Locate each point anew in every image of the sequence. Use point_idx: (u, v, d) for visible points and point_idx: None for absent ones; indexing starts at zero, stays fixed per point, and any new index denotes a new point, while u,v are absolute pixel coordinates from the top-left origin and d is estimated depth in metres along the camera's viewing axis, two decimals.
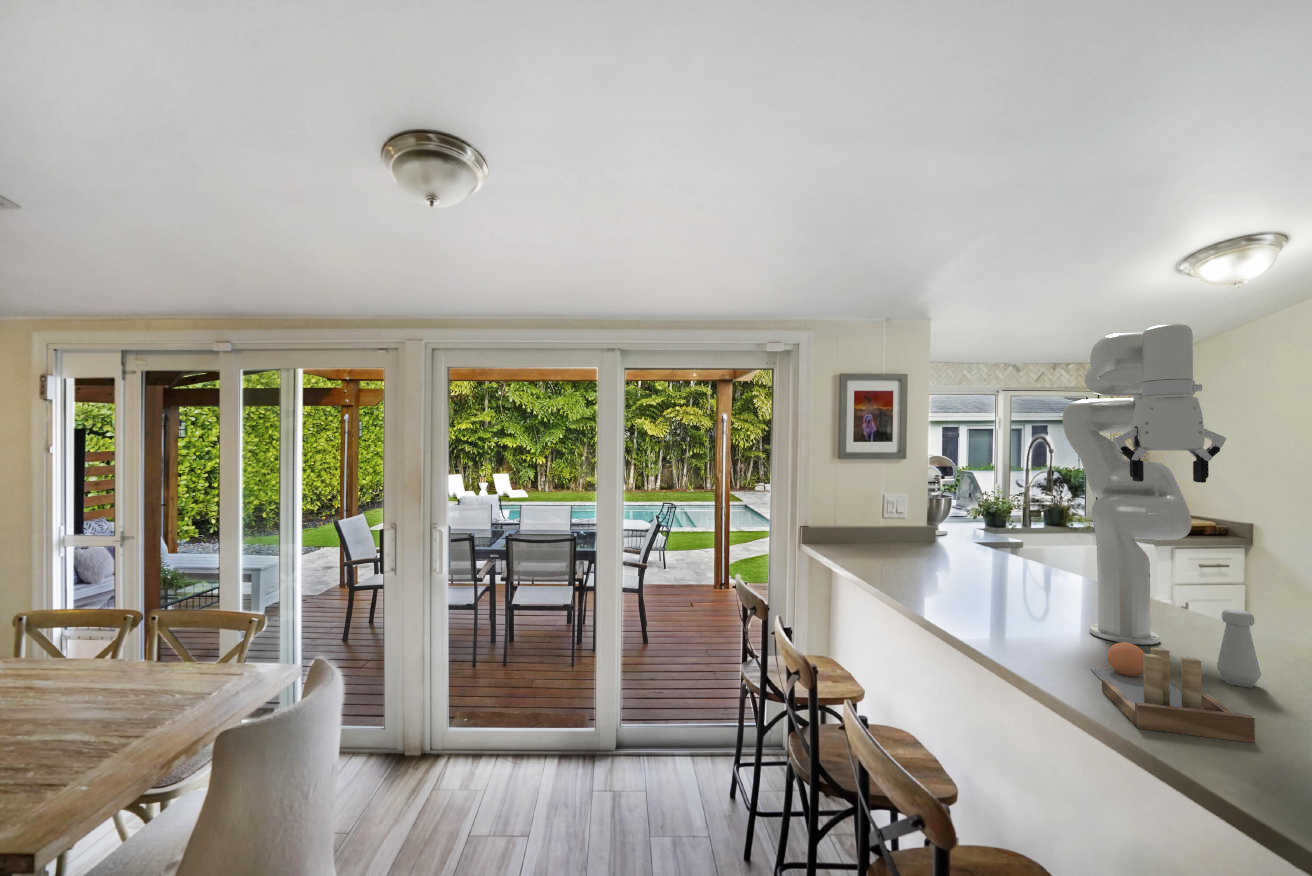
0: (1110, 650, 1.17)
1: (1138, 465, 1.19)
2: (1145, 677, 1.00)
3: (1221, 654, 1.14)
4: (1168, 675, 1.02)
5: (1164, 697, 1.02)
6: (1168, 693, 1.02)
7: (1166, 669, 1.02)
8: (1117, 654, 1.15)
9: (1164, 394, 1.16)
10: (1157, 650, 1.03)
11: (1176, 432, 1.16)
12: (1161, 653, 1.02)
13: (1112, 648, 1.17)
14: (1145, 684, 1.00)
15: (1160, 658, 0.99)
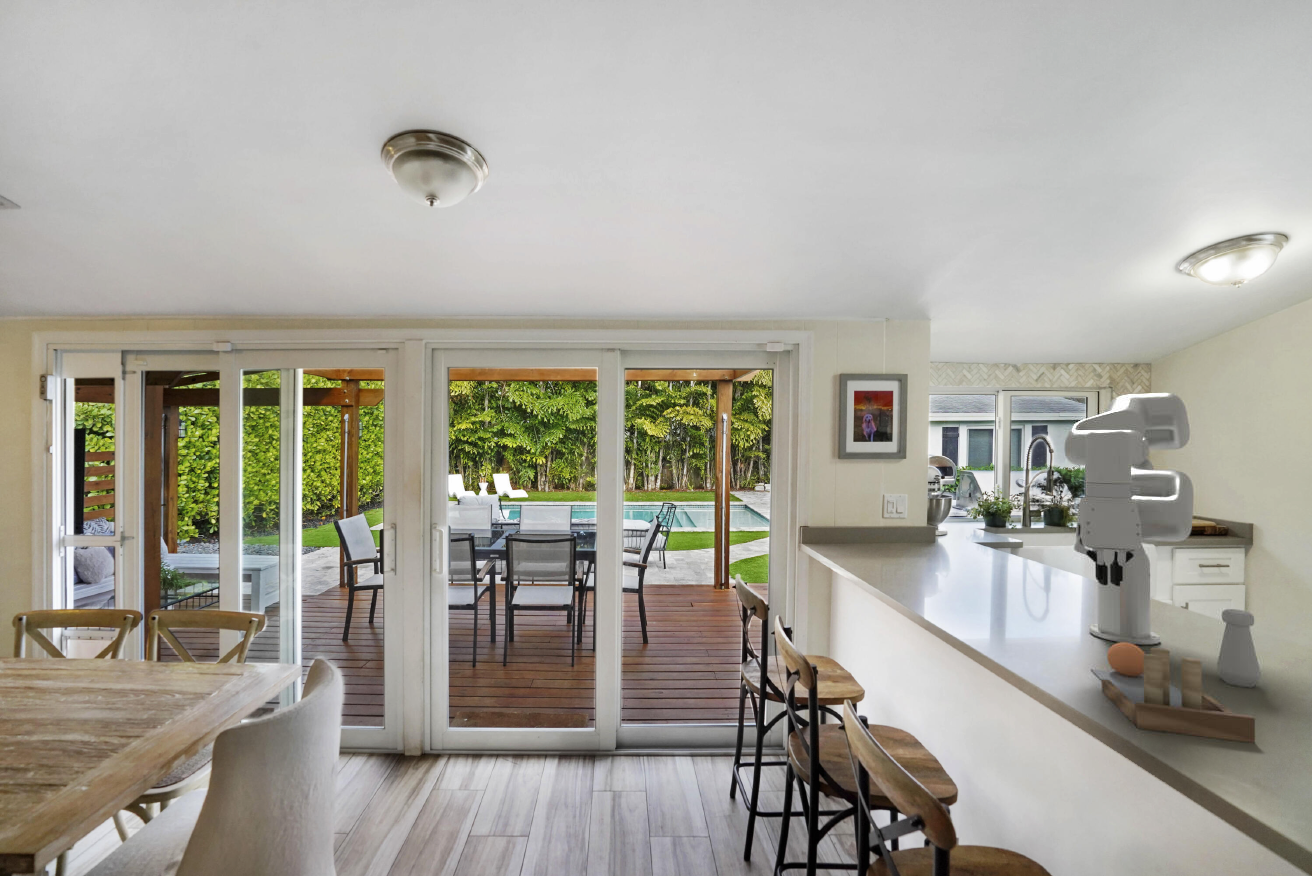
0: (1110, 650, 1.17)
1: (1103, 569, 1.24)
2: (1145, 677, 1.00)
3: (1221, 654, 1.14)
4: (1168, 675, 1.02)
5: (1164, 697, 1.02)
6: (1168, 693, 1.02)
7: (1166, 669, 1.02)
8: (1117, 654, 1.15)
9: (1104, 497, 1.23)
10: (1157, 650, 1.03)
11: (1115, 533, 1.23)
12: (1161, 653, 1.02)
13: (1112, 648, 1.17)
14: (1145, 684, 1.00)
15: (1160, 658, 0.99)
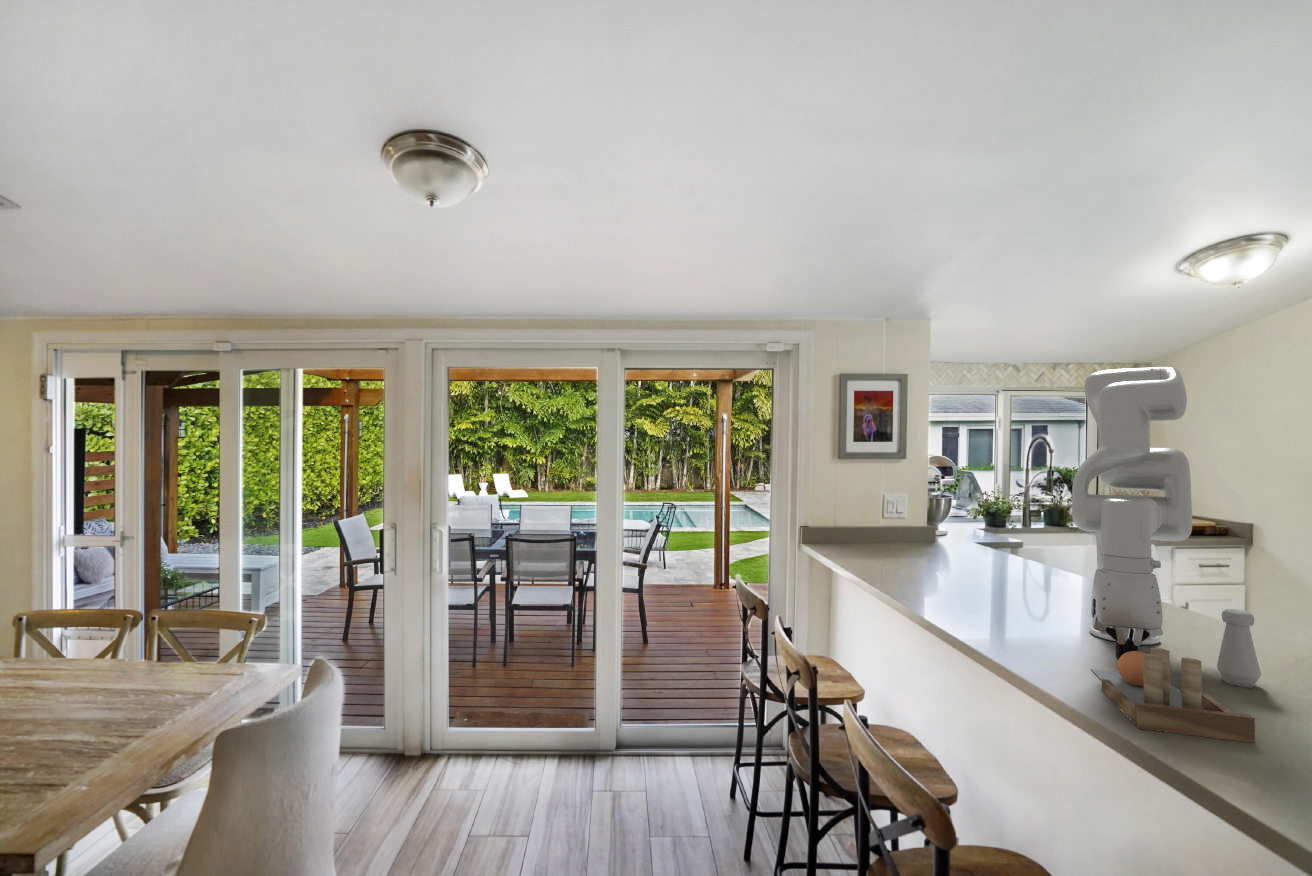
0: (1123, 669, 1.11)
1: (1124, 649, 1.15)
2: (1145, 677, 1.00)
3: (1221, 654, 1.14)
4: (1168, 675, 1.02)
5: (1164, 697, 1.02)
6: (1168, 693, 1.02)
7: (1166, 669, 1.02)
8: (1127, 680, 1.11)
9: (1121, 572, 1.14)
10: (1157, 650, 1.03)
11: (1133, 611, 1.14)
12: (1161, 653, 1.02)
13: (1126, 671, 1.10)
14: (1145, 684, 1.00)
15: (1160, 658, 0.99)
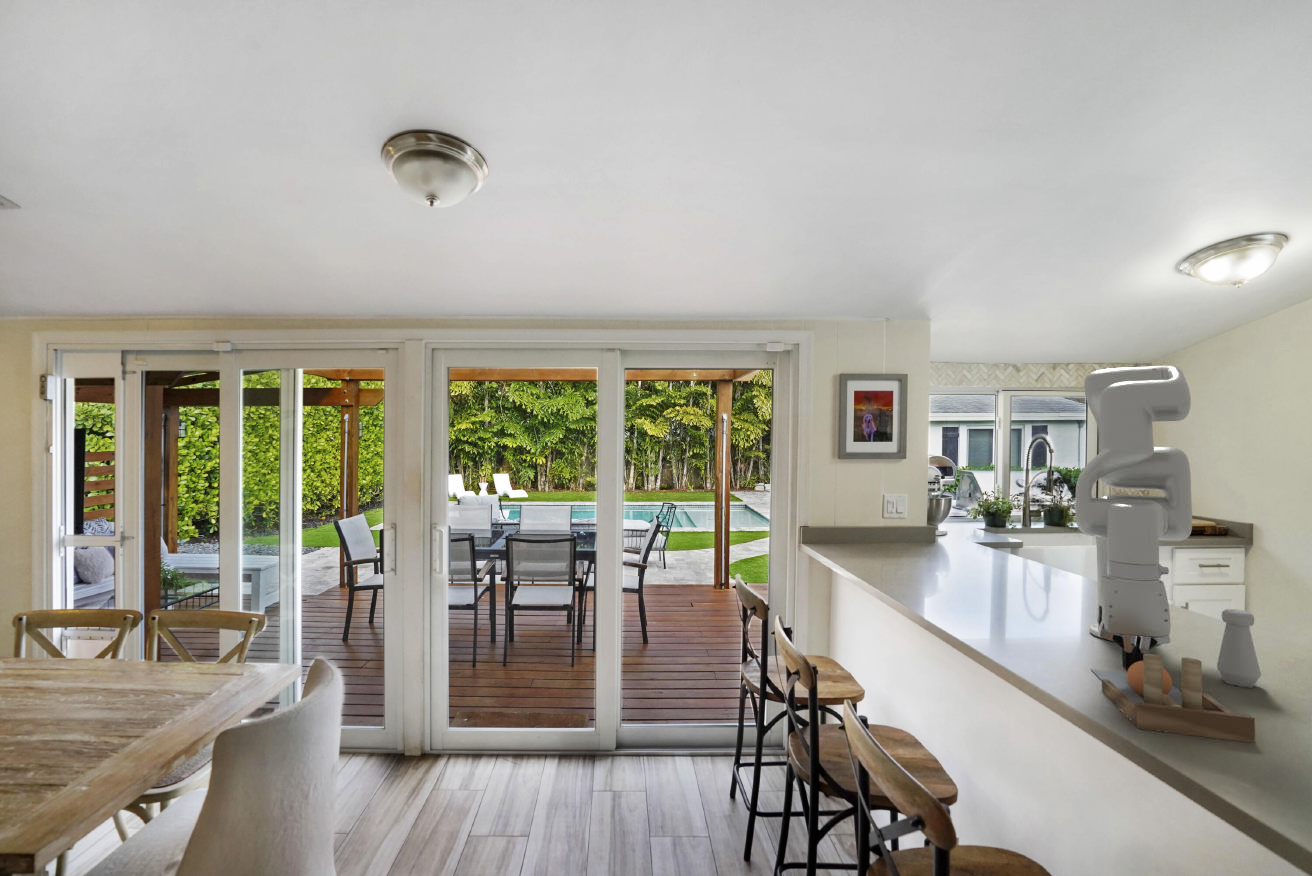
0: (1130, 685, 1.07)
1: (1131, 657, 1.13)
2: (1145, 677, 1.00)
3: (1221, 654, 1.14)
4: None
5: None
6: None
7: None
8: None
9: (1128, 579, 1.11)
10: None
11: (1141, 618, 1.11)
12: None
13: None
14: (1145, 684, 1.00)
15: (1160, 658, 0.99)
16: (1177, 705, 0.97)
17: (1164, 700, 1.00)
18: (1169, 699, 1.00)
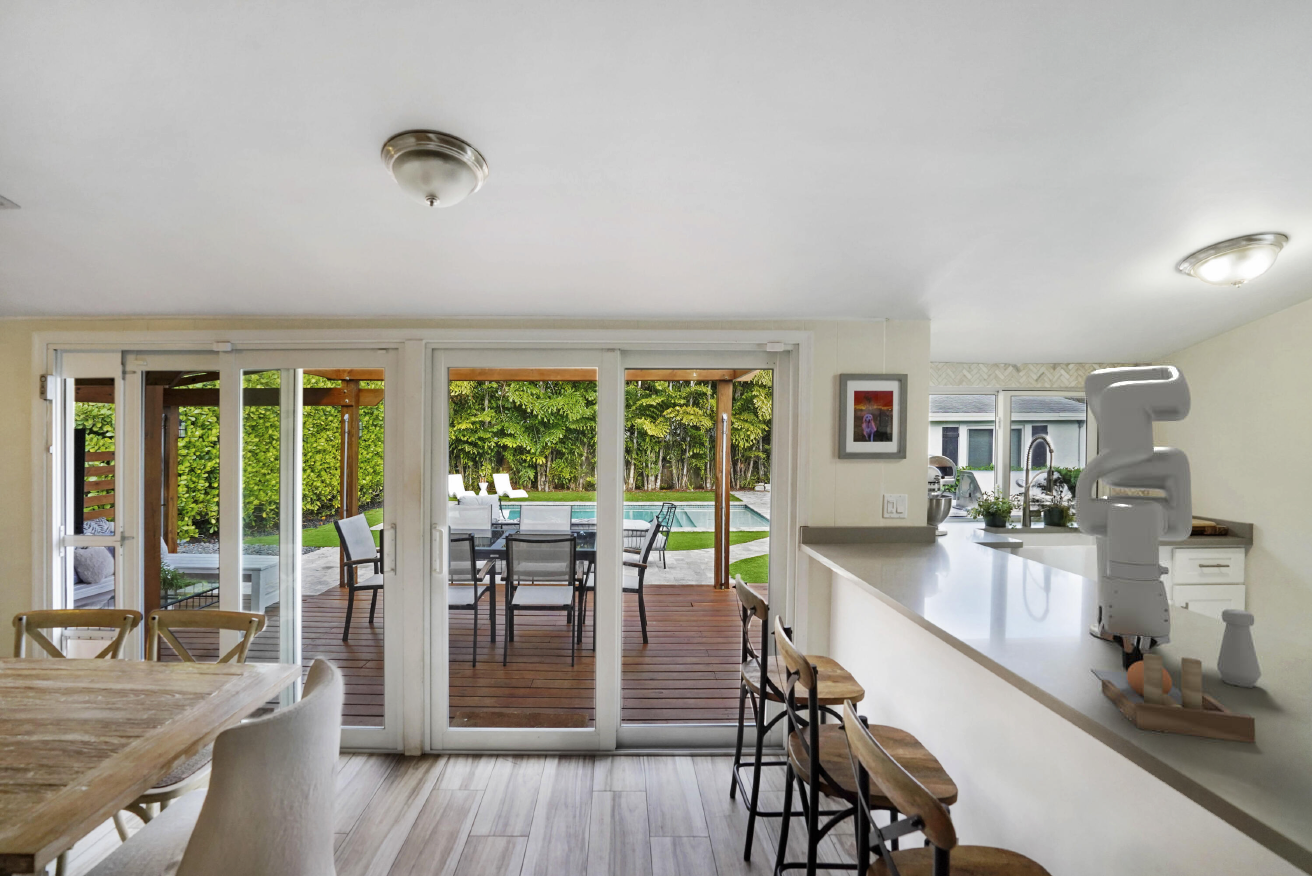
0: (1130, 685, 1.07)
1: (1131, 657, 1.13)
2: (1145, 677, 1.00)
3: (1221, 654, 1.14)
4: None
5: None
6: None
7: None
8: None
9: (1128, 579, 1.11)
10: None
11: (1141, 618, 1.11)
12: None
13: None
14: (1145, 684, 1.00)
15: (1160, 658, 0.99)
16: (1177, 705, 0.97)
17: (1164, 700, 1.00)
18: (1169, 699, 1.00)
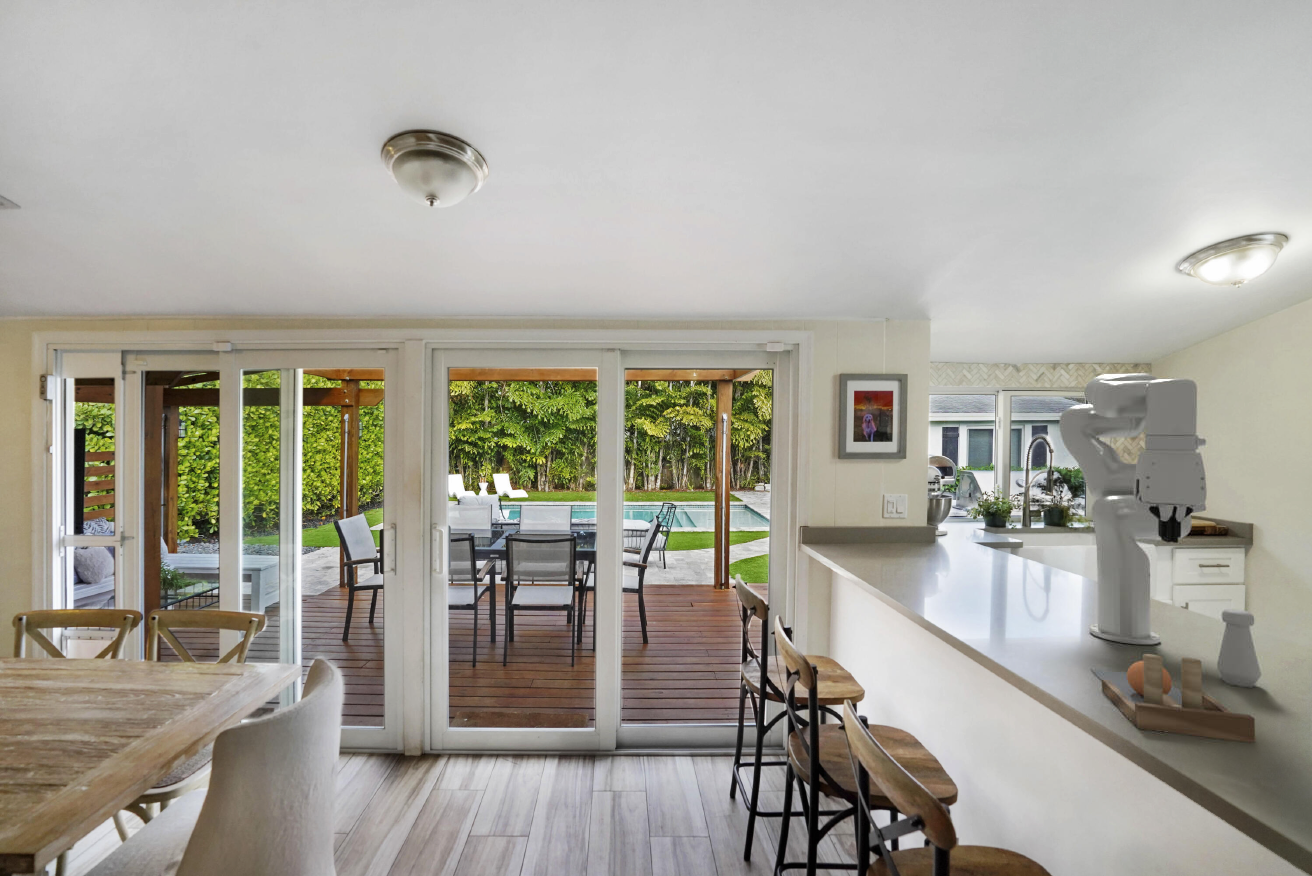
0: (1130, 685, 1.07)
1: (1167, 526, 1.18)
2: (1145, 677, 1.00)
3: (1221, 654, 1.14)
4: None
5: None
6: None
7: None
8: None
9: (1166, 450, 1.16)
10: None
11: (1177, 487, 1.16)
12: None
13: None
14: (1145, 684, 1.00)
15: (1160, 658, 0.99)
16: (1177, 705, 0.97)
17: (1164, 700, 1.00)
18: (1169, 699, 1.00)
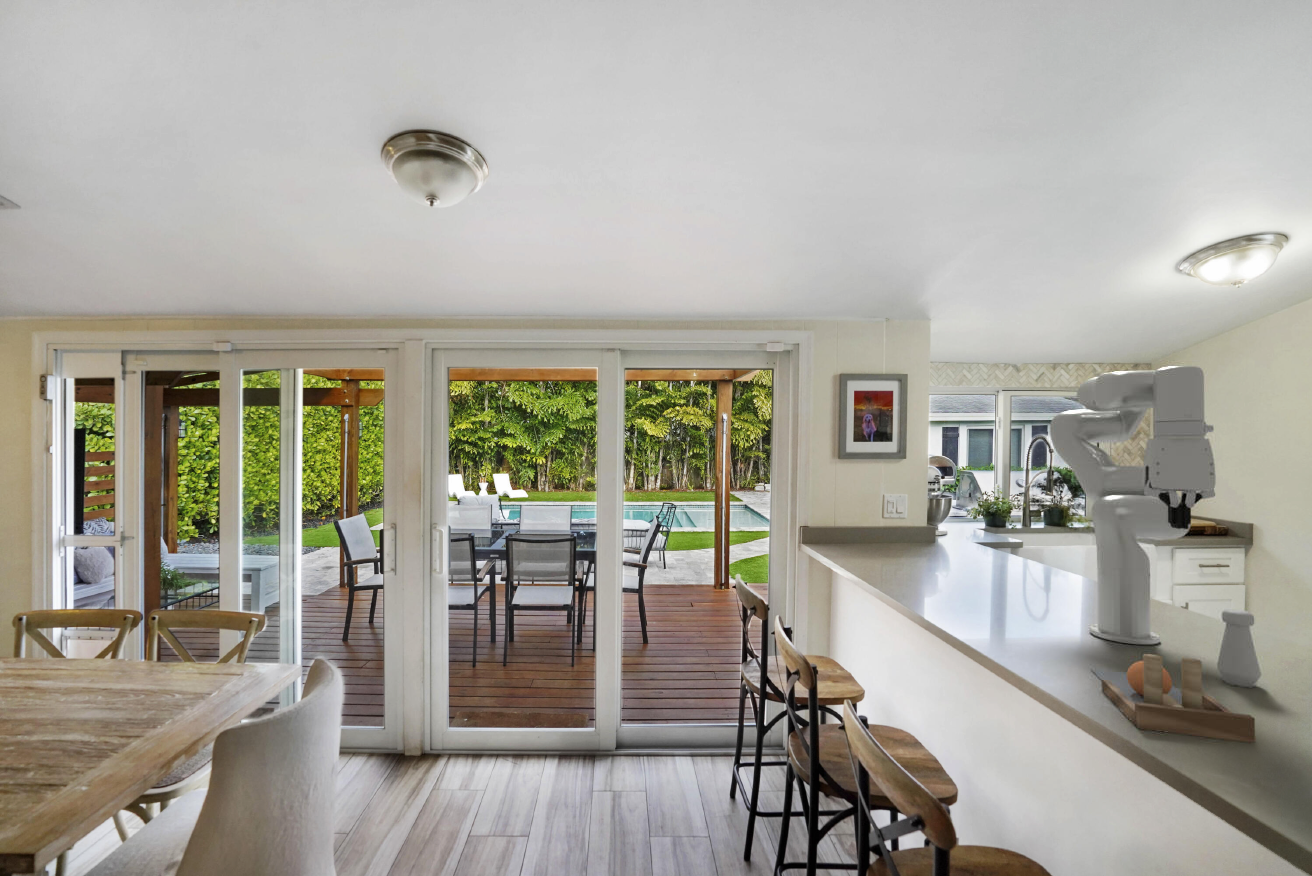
0: (1130, 685, 1.07)
1: (1177, 512, 1.18)
2: (1145, 677, 1.00)
3: (1221, 654, 1.14)
4: None
5: None
6: None
7: None
8: None
9: (1175, 435, 1.17)
10: None
11: (1187, 473, 1.17)
12: None
13: None
14: (1145, 684, 1.00)
15: (1160, 658, 0.99)
16: (1180, 705, 0.97)
17: (1166, 699, 1.00)
18: (1172, 699, 1.00)
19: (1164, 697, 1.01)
